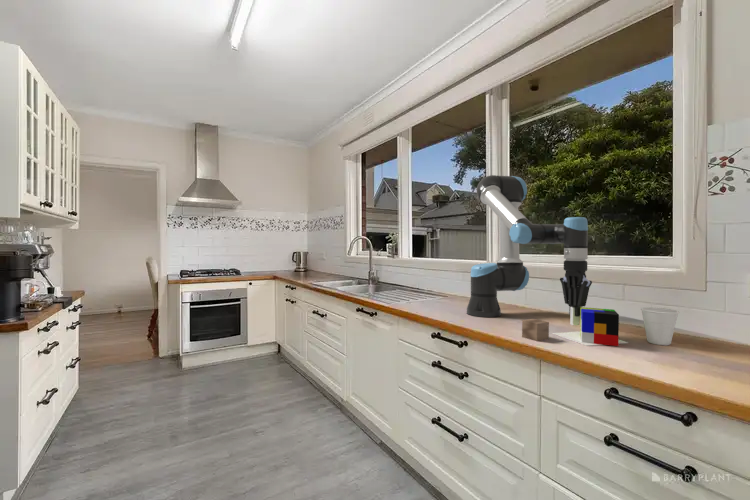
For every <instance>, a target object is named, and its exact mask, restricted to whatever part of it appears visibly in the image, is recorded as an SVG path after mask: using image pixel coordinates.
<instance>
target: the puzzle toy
mask: <svg viewBox="0 0 750 500" xmlns="http://www.w3.org/2000/svg"><path fill="white" fill-rule="evenodd" d="M619 318H620V315H619V313H618V312H617V311H616V310H615V309H609V308H597V307H586V306H583V307H580V316H579V328H580V329H579V332H580V337H581V340H582V342H585V343H594V344H603V345H602V346H612V347H619V344H618V340H619V338H620V337H619V333H620V331H619V329H620V328H619V327H620V326H619V325H620V319H619Z"/></svg>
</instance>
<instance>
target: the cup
mask: <svg viewBox="0 0 750 500" xmlns="http://www.w3.org/2000/svg"><path fill="white" fill-rule="evenodd" d="M640 310H641V313H642V320H643V323H644V324H643V325H644V329H645V335H646V340H647V342H648V343H650V344H652V345H656V346H670V345H672V340H673V337H674V336H673V335H674V333H675V327H676V324H677V319H678V315H679V314H680V312H679V311H678V310H676V309H671V308H665V307H664V308H662V307H652V306H651V307H649V306H648V307H647V306H646V307H640Z"/></svg>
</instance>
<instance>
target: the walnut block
mask: <svg viewBox="0 0 750 500" xmlns="http://www.w3.org/2000/svg"><path fill="white" fill-rule="evenodd" d="M521 321H522V322H521V337H522V338H524V339H528V340H531V341H534V342H535V341H536V342H542V341H546V340H549V339H550V337H549V335H550V333H549V332H550V321H546V320H542V319H536V318H528V319H523V320H521Z"/></svg>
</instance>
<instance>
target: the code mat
mask: <svg viewBox="0 0 750 500" xmlns="http://www.w3.org/2000/svg"><path fill="white" fill-rule="evenodd" d="M551 334H552V335H554V336H558V337H560V338H563V339H567V340H569V341H571V342H575V343H578V344H581V345H583V346H586V347H593V346H604V345H603V344H594V343H585V342H582V340H581V337H580V331H567V332H565V331H564V332H552V333H551ZM621 344H622V345H623V344H629V342H628V341H624V340H621V339H618V345H621Z"/></svg>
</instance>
